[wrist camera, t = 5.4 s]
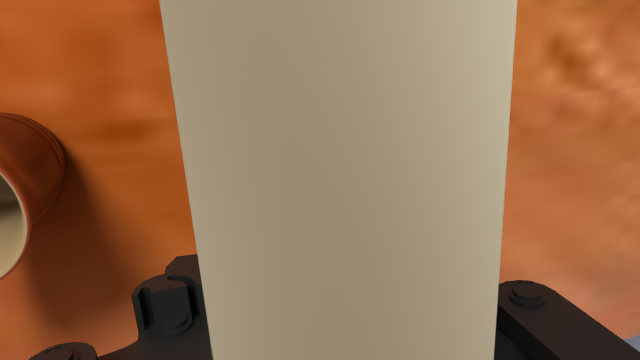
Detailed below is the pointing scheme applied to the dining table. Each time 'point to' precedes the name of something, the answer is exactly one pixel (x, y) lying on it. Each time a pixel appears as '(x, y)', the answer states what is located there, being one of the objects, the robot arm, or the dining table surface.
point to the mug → (25, 183)
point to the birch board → (345, 172)
